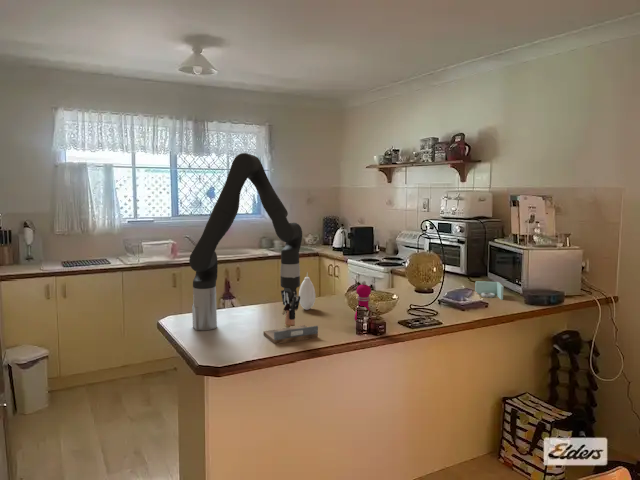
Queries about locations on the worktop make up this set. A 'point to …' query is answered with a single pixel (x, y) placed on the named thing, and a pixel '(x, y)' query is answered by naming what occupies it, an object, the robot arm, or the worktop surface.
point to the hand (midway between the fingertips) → (290, 317)
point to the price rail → (295, 332)
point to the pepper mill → (363, 296)
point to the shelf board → (270, 336)
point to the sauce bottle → (307, 294)
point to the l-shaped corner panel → (489, 289)
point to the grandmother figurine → (287, 320)
